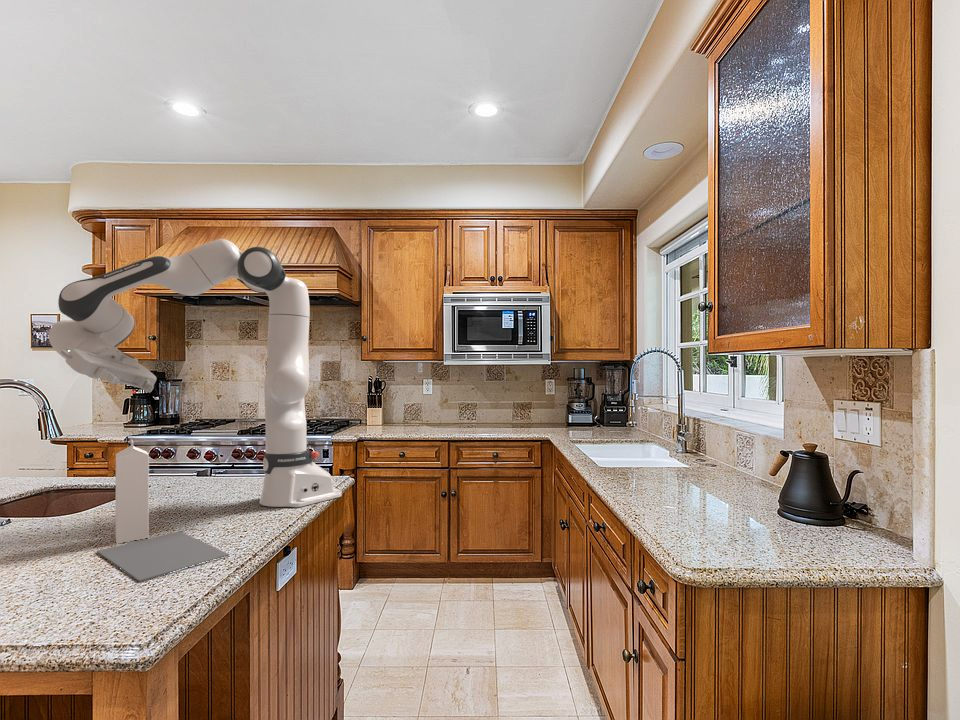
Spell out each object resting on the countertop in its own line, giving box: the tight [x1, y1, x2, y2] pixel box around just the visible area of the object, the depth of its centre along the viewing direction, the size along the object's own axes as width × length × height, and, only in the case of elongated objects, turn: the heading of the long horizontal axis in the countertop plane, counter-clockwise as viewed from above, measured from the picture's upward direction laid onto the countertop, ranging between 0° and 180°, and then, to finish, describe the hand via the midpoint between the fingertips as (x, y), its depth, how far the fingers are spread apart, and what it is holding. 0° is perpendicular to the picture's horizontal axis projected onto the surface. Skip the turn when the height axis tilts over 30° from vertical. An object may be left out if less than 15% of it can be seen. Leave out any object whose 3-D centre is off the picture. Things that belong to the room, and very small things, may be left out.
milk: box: [114, 438, 150, 544], centre depth 116 cm, size 6×6×22 cm
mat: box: [96, 531, 230, 583], centre depth 106 cm, size 24×16×1 cm, turn 52°
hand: (133, 385), depth 123 cm, fingers open, 8 cm apart
